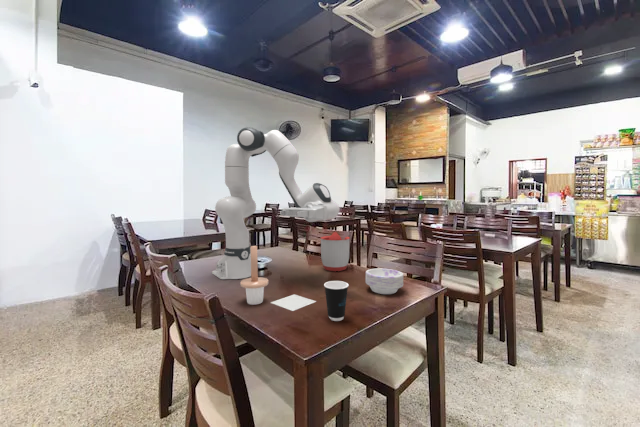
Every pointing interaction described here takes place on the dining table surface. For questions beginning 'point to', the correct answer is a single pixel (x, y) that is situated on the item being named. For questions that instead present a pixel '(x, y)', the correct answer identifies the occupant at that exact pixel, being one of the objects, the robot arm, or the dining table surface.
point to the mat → (293, 302)
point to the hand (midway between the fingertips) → (288, 213)
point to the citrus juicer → (335, 252)
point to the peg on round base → (254, 273)
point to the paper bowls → (384, 280)
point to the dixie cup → (336, 299)
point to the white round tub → (254, 295)
